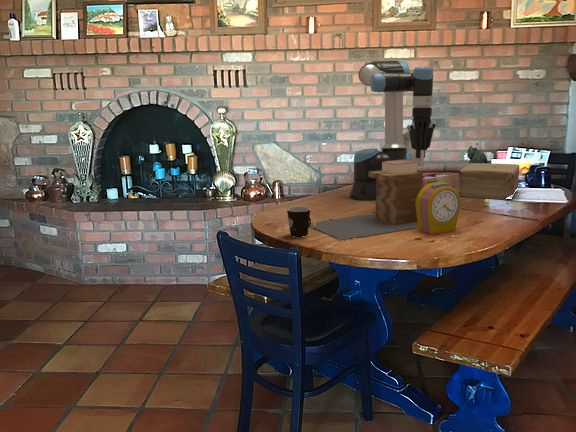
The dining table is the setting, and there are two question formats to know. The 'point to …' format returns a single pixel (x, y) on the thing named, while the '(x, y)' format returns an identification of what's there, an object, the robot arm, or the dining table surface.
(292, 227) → the coffee mug
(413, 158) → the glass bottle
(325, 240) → the dining table surface
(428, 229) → the alarm clock
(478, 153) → the ceramic cat
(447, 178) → the gum box
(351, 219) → the mat
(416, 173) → the stand
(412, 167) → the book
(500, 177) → the paper package
